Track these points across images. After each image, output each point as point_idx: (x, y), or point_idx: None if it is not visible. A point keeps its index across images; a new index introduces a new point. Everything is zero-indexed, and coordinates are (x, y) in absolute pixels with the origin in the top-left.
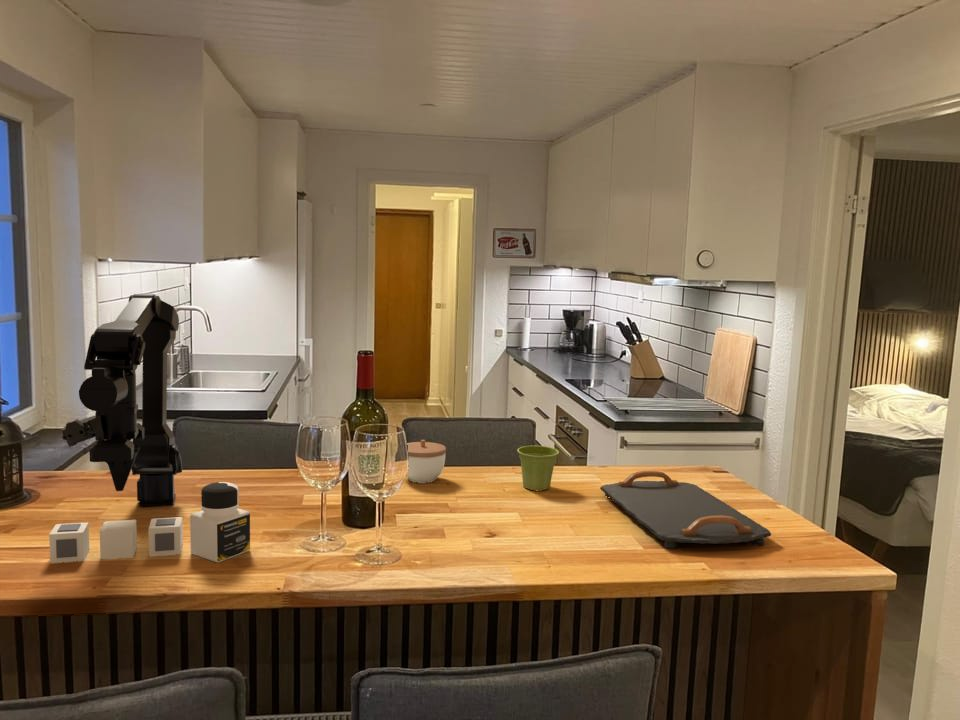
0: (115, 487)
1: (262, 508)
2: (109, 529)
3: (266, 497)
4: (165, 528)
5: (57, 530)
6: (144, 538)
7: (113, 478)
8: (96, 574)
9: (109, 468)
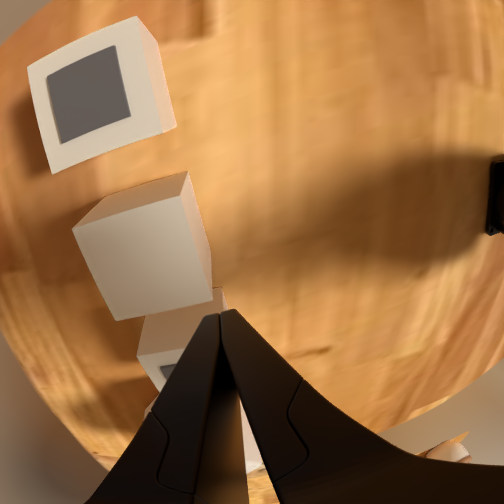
0: (197, 331)
1: (417, 380)
2: (95, 254)
3: (461, 362)
4: (155, 384)
5: (62, 66)
6: (280, 247)
7: (167, 386)
8: (29, 231)
9: (118, 461)
